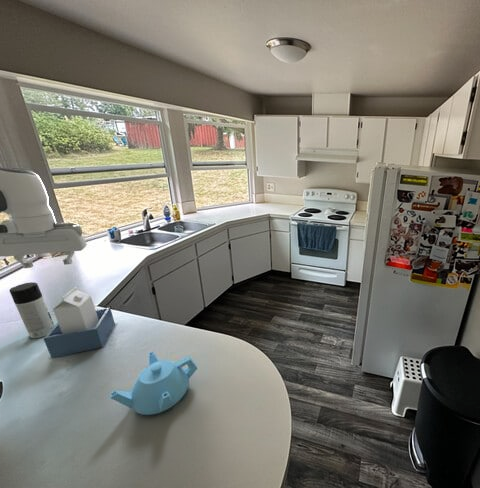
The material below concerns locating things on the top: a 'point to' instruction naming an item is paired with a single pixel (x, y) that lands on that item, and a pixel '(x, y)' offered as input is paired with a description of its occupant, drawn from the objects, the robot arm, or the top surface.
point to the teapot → (157, 386)
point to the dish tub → (80, 336)
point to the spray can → (32, 309)
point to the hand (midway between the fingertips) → (49, 265)
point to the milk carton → (76, 312)
